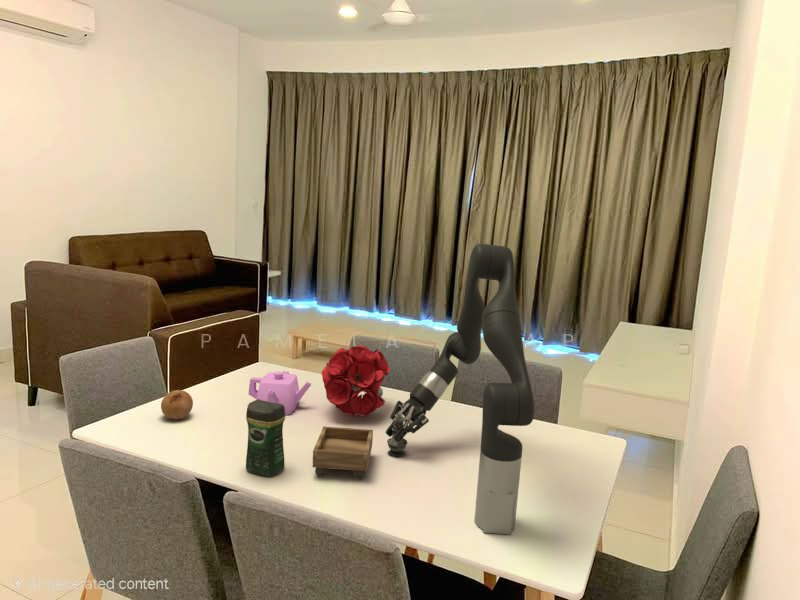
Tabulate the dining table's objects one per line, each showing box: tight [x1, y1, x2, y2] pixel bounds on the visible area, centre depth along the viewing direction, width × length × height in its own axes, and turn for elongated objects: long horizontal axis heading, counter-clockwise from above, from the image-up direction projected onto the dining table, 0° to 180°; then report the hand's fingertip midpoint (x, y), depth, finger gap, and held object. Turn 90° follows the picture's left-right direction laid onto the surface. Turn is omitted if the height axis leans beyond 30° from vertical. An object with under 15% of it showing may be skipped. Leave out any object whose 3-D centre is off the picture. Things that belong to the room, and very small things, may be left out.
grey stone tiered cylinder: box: [386, 414, 409, 458], centre depth 166 cm, size 6×6×12 cm
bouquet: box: [320, 345, 391, 417], centre depth 198 cm, size 22×24×30 cm
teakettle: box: [248, 370, 312, 416], centre depth 196 cm, size 17×17×12 cm
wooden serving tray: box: [312, 426, 374, 480], centre depth 157 cm, size 16×14×8 cm
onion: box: [160, 389, 194, 421], centre depth 183 cm, size 10×9×10 cm
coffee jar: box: [245, 399, 286, 477], centre depth 152 cm, size 10×8×19 cm
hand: (391, 437), depth 165 cm, fingers closed on grey stone tiered cylinder, 3 cm apart
